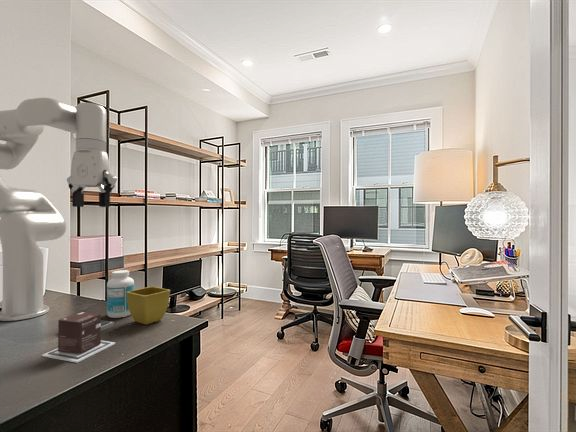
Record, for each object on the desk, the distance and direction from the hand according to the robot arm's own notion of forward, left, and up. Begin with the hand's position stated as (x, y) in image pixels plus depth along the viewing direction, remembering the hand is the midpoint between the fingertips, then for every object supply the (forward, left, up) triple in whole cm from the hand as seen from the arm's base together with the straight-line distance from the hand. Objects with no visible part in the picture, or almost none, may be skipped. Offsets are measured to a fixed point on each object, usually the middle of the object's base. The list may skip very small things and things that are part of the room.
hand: (91, 206), depth 91 cm
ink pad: (+5, -5, -33) cm, 34 cm away
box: (+14, -15, -33) cm, 39 cm away
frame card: (+14, -15, -33) cm, 39 cm away
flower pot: (+16, +5, -34) cm, 37 cm away
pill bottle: (+4, +7, -34) cm, 34 cm away
